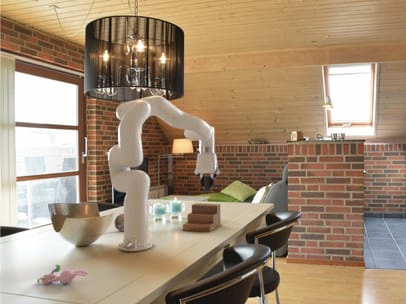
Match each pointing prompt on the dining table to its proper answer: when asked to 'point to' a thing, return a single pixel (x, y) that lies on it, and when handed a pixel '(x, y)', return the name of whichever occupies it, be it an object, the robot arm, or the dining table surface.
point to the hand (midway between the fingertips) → (207, 186)
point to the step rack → (203, 218)
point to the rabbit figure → (61, 276)
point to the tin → (119, 222)
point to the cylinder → (207, 183)
